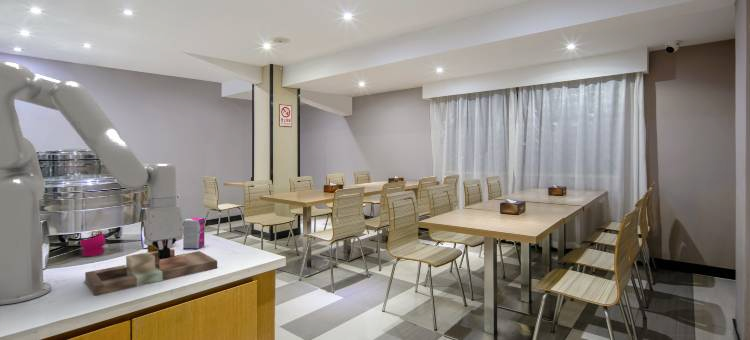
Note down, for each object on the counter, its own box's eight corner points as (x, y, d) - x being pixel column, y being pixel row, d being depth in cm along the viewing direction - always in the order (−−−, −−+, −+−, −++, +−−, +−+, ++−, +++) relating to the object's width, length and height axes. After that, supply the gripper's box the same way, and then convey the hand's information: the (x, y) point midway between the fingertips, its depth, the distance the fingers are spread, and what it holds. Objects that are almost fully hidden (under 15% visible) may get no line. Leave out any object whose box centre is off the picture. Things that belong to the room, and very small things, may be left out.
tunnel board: (199, 257, 129) (199, 242, 129) (217, 267, 119) (217, 251, 118) (85, 280, 106) (84, 262, 106) (94, 295, 96) (94, 275, 95)
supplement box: (198, 249, 139) (197, 220, 139) (182, 249, 139) (182, 220, 139) (205, 245, 145) (204, 217, 144) (190, 245, 145) (190, 217, 145)
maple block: (131, 274, 105) (131, 260, 105) (126, 269, 109) (126, 256, 109) (155, 269, 109) (154, 256, 109) (149, 264, 113) (148, 252, 113)
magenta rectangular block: (85, 258, 127) (83, 201, 126) (77, 254, 131) (74, 199, 130) (109, 253, 133) (107, 199, 132) (100, 250, 137) (98, 197, 136)
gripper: (137, 206, 105) (140, 269, 106) (192, 201, 116) (193, 258, 117) (131, 203, 110) (133, 263, 111) (184, 199, 121) (185, 253, 122)
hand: (164, 260), depth 114 cm, fingers closed
